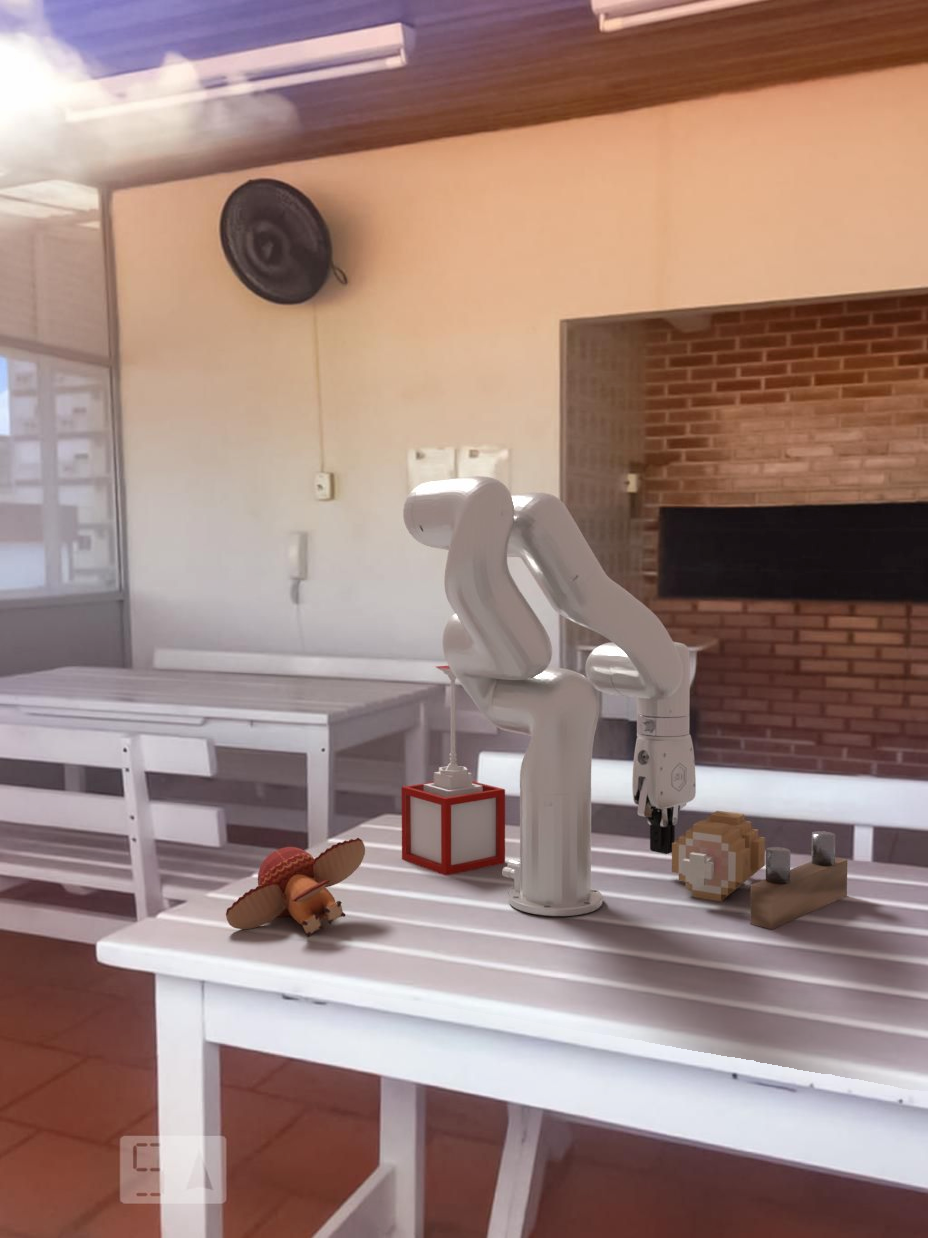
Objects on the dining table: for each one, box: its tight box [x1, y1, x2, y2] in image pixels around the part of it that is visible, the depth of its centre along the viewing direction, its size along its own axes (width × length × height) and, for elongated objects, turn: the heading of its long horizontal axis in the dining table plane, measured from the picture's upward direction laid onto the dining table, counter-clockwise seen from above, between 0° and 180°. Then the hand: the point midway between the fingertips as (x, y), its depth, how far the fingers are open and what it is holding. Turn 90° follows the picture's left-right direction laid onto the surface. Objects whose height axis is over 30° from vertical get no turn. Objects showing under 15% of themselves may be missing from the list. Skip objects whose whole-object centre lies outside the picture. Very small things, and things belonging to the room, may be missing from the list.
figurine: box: [225, 837, 366, 938], centre depth 139 cm, size 20×9×15 cm
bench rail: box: [749, 830, 848, 930], centre depth 143 cm, size 3×20×9 cm, turn 134°
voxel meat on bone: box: [671, 810, 766, 902], centre depth 152 cm, size 10×18×10 cm, turn 148°
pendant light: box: [401, 665, 506, 876], centre depth 167 cm, size 11×11×30 cm
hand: (662, 851), depth 159 cm, fingers closed
